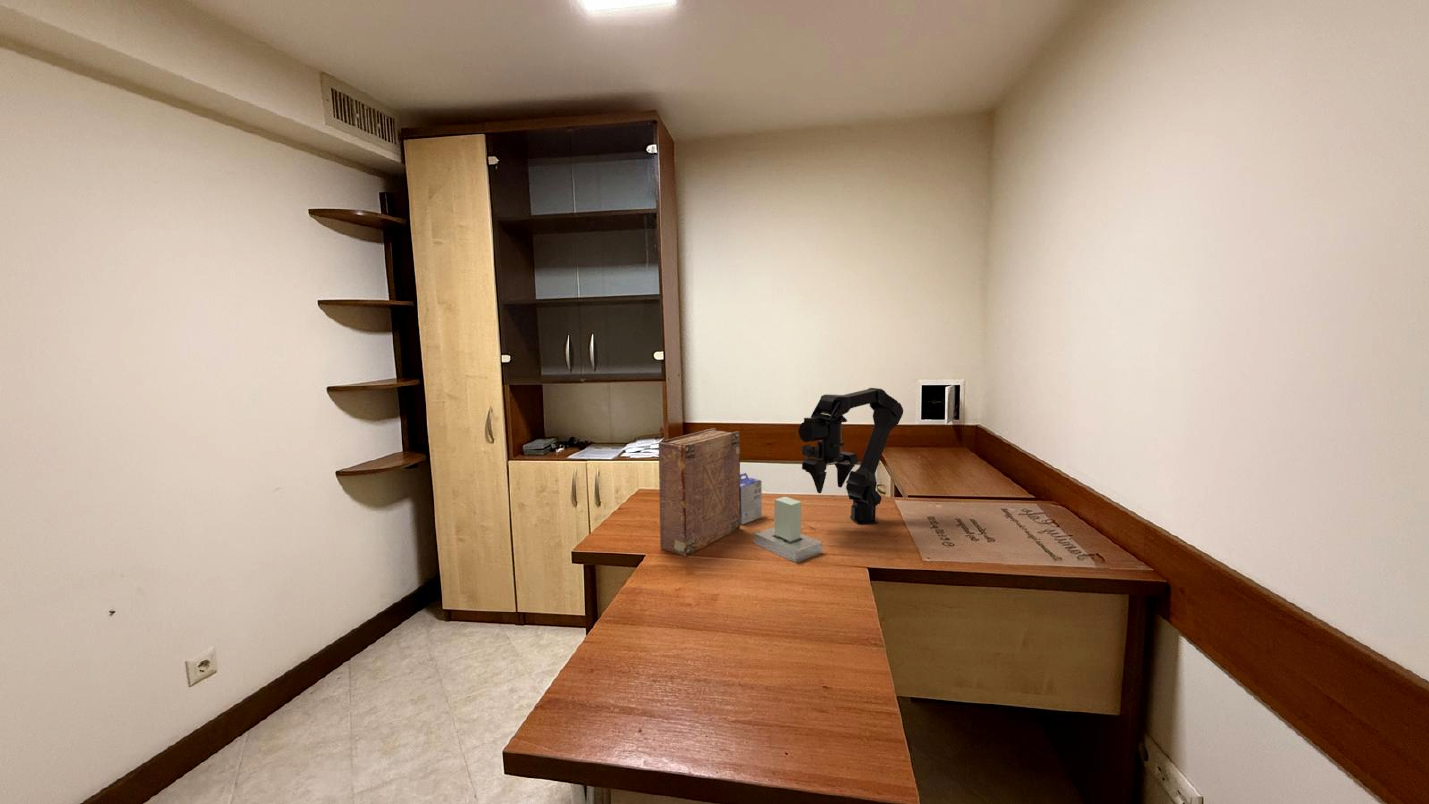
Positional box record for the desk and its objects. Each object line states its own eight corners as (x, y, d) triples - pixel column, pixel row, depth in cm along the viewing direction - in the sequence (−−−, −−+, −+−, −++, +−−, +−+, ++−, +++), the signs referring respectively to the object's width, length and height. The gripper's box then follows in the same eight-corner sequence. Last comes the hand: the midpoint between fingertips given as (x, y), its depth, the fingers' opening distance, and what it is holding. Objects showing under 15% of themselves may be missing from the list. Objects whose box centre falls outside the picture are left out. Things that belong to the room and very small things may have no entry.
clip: (784, 542, 149) (785, 496, 147) (800, 549, 144) (801, 502, 142) (774, 546, 146) (774, 499, 145) (790, 553, 142) (791, 505, 140)
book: (715, 522, 165) (715, 427, 161) (740, 528, 160) (740, 431, 156) (660, 549, 145) (658, 441, 141) (685, 557, 140) (684, 446, 136)
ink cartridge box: (749, 513, 173) (750, 470, 171) (762, 517, 169) (763, 473, 167) (728, 520, 166) (728, 476, 164) (741, 525, 162) (741, 479, 160)
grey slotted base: (779, 534, 155) (779, 525, 154) (821, 552, 142) (822, 542, 142) (754, 543, 149) (754, 533, 148) (796, 563, 136) (796, 551, 136)
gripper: (830, 430, 166) (829, 478, 168) (788, 437, 155) (787, 489, 157) (859, 435, 157) (858, 486, 159) (817, 444, 146) (816, 498, 148)
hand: (829, 490), depth 156 cm, fingers open, 9 cm apart
